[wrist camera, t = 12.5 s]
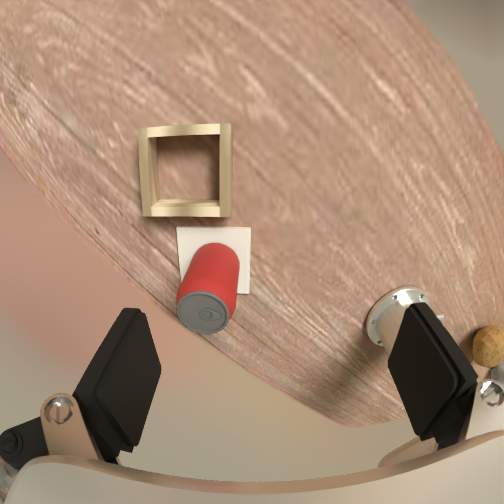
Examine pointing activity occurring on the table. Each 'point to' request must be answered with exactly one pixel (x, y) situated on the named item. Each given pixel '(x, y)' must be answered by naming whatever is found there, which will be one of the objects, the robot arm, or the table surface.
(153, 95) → the table surface
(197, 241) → the coaster
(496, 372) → the stone
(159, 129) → the frame
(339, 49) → the table surface
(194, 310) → the beer can
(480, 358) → the potato
